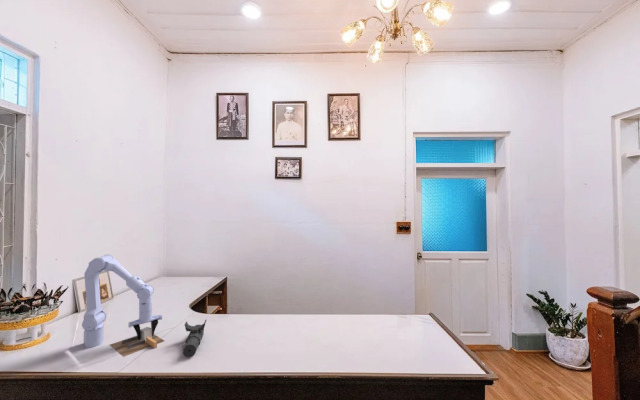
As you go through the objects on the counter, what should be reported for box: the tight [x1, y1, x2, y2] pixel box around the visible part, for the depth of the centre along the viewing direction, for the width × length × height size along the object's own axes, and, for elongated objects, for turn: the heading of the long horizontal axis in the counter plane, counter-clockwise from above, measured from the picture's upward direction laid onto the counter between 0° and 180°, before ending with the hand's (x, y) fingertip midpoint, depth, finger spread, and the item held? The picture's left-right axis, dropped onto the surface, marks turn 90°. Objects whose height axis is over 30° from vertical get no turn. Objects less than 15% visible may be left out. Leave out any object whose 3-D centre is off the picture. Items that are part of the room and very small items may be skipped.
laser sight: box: [182, 319, 207, 358], centre depth 140 cm, size 10×22×10 cm, turn 14°
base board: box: [109, 334, 165, 358], centre depth 140 cm, size 18×18×2 cm
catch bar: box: [146, 337, 158, 349], centre depth 138 cm, size 9×1×2 cm, turn 53°
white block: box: [140, 326, 152, 341], centre depth 144 cm, size 4×4×5 cm
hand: (145, 337), depth 144 cm, fingers closed on white block, 5 cm apart
